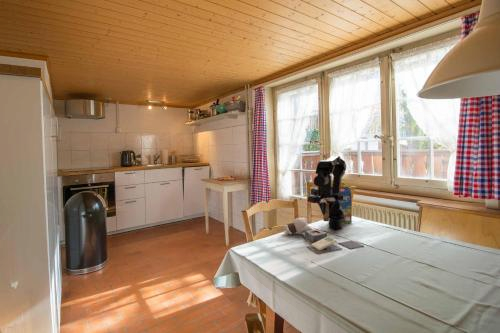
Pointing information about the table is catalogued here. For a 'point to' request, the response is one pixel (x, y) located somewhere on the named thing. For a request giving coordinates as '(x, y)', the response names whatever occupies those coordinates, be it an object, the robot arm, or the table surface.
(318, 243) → the rocker
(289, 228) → the toy
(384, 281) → the table surface
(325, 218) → the stylus
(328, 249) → the rocker housing
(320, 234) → the grey square block
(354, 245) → the pad
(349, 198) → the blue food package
